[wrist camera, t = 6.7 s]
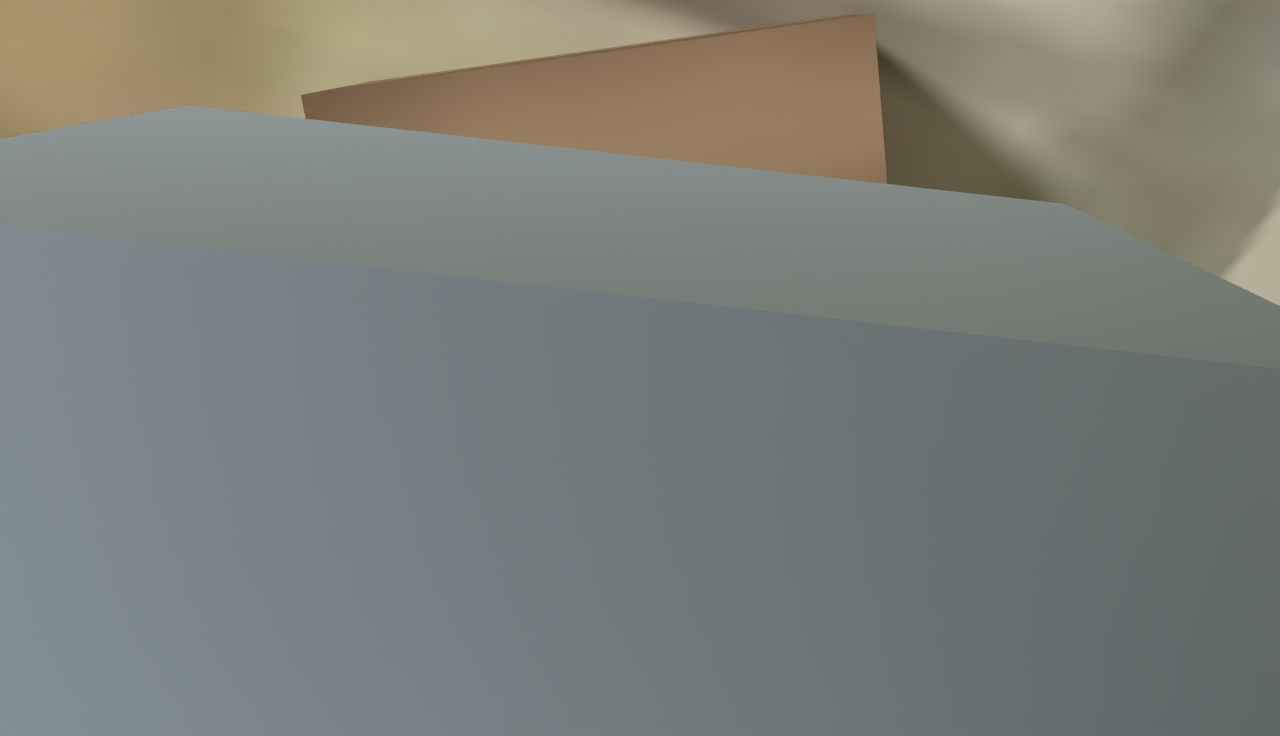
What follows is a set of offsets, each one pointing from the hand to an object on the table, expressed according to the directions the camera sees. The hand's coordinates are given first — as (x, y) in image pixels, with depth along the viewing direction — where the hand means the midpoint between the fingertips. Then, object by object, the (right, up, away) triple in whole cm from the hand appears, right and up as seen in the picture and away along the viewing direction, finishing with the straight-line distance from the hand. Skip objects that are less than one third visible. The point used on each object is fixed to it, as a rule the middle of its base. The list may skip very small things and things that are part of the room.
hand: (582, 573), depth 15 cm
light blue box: (0, 0, 0) cm, 0 cm away
